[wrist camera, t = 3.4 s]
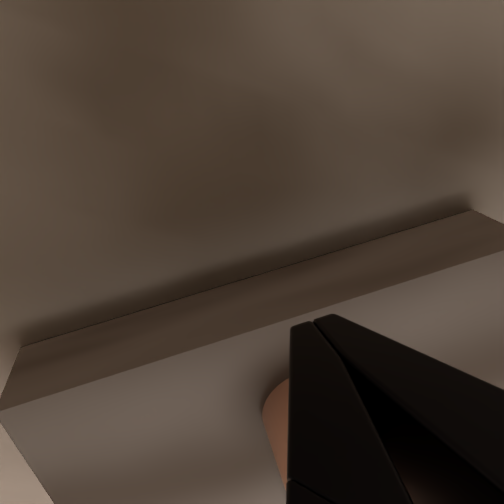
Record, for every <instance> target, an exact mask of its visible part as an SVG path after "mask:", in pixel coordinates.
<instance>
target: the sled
mask: <svg viewBox="0 0 504 504" xmlns="http://www.w3.org/2000/svg"><path fill="white" fill-rule="evenodd" d="M288 393H289V378H288V379H286V380H285V381H283V382H282V383H281V384H279V385H278V386H277V387H276V388H275V389H274V390H273V391H272V392H271V393H270V395H269V396H268V398H267V399H266V401H265V404H264V407H263V411H262V420H263V424H264V427H265V430H266V433H267V436H268V439H269V442H270V445H271V448H272V451H273V454H274V457H275V460H276V463H277V466H278V469H279V472H280V475H281V478H282V481H283V484H284V487H285V490H286V483H287V441H288Z"/></svg>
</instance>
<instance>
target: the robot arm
mask: <svg viewBox="0 0 504 504" xmlns="http://www.w3.org/2000/svg"><path fill="white" fill-rule="evenodd" d="M286 504H504V389H501V388H499V387H497V386H495V385H493V384H490V383H488V382H486V381H484V380H481V379H479V378H477V377H475V376H473V375H470V374H468V373H466V372H464V371H461V370H459V369H457V368H455V367H453V366H450V365H448V364H446V363H444V362H441V361H439V360H437V359H435V358H433V357H430V356H428V355H426V354H424V353H421V352H419V351H417V350H415V349H413V348H410V347H408V346H406V345H404V344H401V343H399V342H397V341H395V340H393V339H390V338H388V337H386V336H384V335H381V334H379V333H377V332H375V331H372V330H370V329H368V328H366V327H364V326H361V325H359V324H357V323H355V322H352V321H350V320H348V319H346V318H344V317H341V316H339V315H337V314H328V315H325V316H322V317H319V318H316V319H314V320H313V322H311V321H306V322H303V323H300V324H297V325H294V326H292V327H291V328H290V345H289V393H288V441H287V483H286Z"/></svg>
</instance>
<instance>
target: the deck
mask: <svg viewBox="0 0 504 504" xmlns="http://www.w3.org/2000/svg"><path fill="white" fill-rule="evenodd" d="M328 314H337V315H339V316H341V317H344V318H346V319H348V320H350V321H352V322H355V323H357V324H359V325H361V326H364V327H366V328H368V329H370V330H372V331H375V332H377V333H379V334H381V335H384V336H386V337H388V338H390V339H393V340H395V341H397V342H399V343H401V344H404V345H406V346H408V347H410V348H413V349H415V350H417V351H419V352H421V353H424V354H426V355H428V356H430V357H433V358H435V359H437V360H439V361H441V362H444V363H446V364H448V365H450V366H453V367H455V368H457V369H459V370H461V371H464V372H466V373H468V374H470V375H473V376H475V377H477V378H479V379H481V380H484V381H486V382H488V383H490V384H493V385H495V386H497V387H499V388H501V389H504V224H502V223H500V222H498V221H496V220H493V219H491V218H489V217H487V216H485V215H483V214H481V213H479V212H477V211H474V210H470V211H467V212H464V213H460V214H457V215H454V216H450V217H447V218H444V219H441V220H437V221H434V222H431V223H427V224H424V225H421V226H418V227H414V228H411V229H408V230H404V231H401V232H398V233H395V234H391V235H388V236H385V237H382V238H378V239H375V240H372V241H368V242H365V243H362V244H359V245H355V246H352V247H349V248H345V249H342V250H339V251H336V252H332V253H329V254H326V255H323V256H319V257H316V258H313V259H309V260H306V261H303V262H300V263H296V264H293V265H290V266H286V267H283V268H280V269H277V270H273V271H270V272H267V273H263V274H260V275H257V276H254V277H250V278H247V279H244V280H241V281H237V282H234V283H231V284H227V285H224V286H221V287H218V288H214V289H211V290H208V291H204V292H201V293H198V294H195V295H191V296H188V297H185V298H182V299H178V300H175V301H172V302H168V303H165V304H162V305H159V306H155V307H152V308H149V309H145V310H142V311H139V312H136V313H132V314H129V315H126V316H122V317H119V318H116V319H113V320H109V321H106V322H103V323H100V324H96V325H93V326H90V327H86V328H83V329H80V330H77V331H73V332H70V333H67V334H63V335H60V336H57V337H54V338H50V339H47V340H44V341H41V342H37V343H34V344H31V345H27V346H24V347H21V348H20V350H19V353H18V355H17V358H16V360H15V363H14V365H13V368H12V370H11V373H10V375H9V378H8V380H7V383H6V385H5V387H4V390H3V392H2V395H1V397H0V423H1V424H2V426H3V427H4V429H5V430H6V432H7V433H8V435H9V436H10V438H11V439H12V441H13V442H14V444H15V445H16V447H17V448H18V450H19V451H20V453H21V454H22V456H23V457H24V459H25V460H26V462H27V463H28V465H29V466H30V468H31V469H32V471H33V472H34V474H35V475H36V477H37V478H38V480H39V481H40V483H41V484H42V486H43V487H44V489H45V490H46V492H47V493H48V495H49V496H50V498H51V499H52V501H53V502H54V504H286V490H285V487H284V484H283V481H282V478H281V475H280V472H279V469H278V466H277V463H276V460H275V457H274V454H273V451H272V448H271V445H270V442H269V439H268V436H267V433H266V430H265V427H264V424H263V420H262V411H263V407H264V404H265V401H266V399H267V398H268V396H269V395H270V393H271V392H272V391H273V390H274V389H275V388H276V387H277V386H278V385H279V384H281V383H282V382H283V381H285V380H286V379H288V378H289V345H290V328H291V327H292V326H294V325H297V324H300V323H303V322H306V321H311V322H313V320H314V319H316V318H319V317H322V316H325V315H328Z"/></svg>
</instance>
